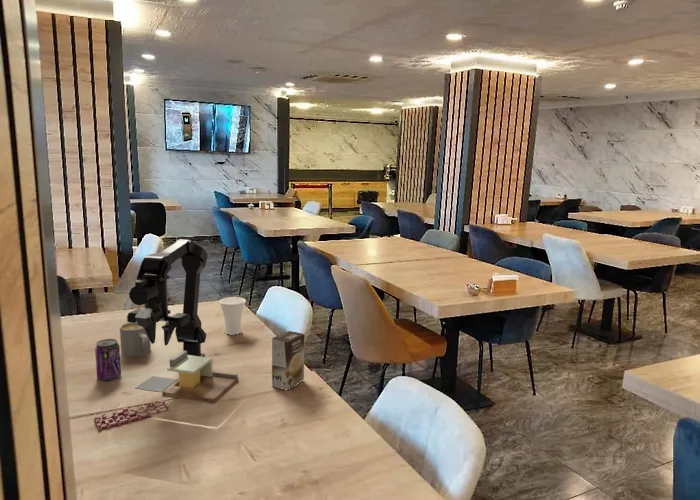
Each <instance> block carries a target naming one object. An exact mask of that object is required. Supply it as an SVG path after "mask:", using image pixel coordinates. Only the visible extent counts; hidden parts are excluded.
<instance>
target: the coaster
mask: <svg viewBox="0 0 700 500" xmlns="http://www.w3.org/2000/svg"><path fill="white" fill-rule="evenodd" d="M177 380H178V378H177V379H176V378H169V377H162V376H161V377H160V376H156V375H151V377H149V378H148V379H146V380H145V381H143V382H141V383H140V384H139V385H137V386H136V387H134V389H137V390H144V391H150V392H157V393H162V392H163V391H164V390H165V389H167V388H168V387H169V386H171V385H172V384H173V383H175V382H176V381H177Z"/></svg>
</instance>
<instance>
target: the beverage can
mask: <svg viewBox="0 0 700 500" xmlns="http://www.w3.org/2000/svg"><path fill="white" fill-rule="evenodd" d="M95 344H96V345H95V349H94V352H95V353H94V355H95V367H96V378H97V379H98V380H102V381H111V380H115V379H117V378H119V377H120V376H121V375H122V367H121V364H122V363H121V347H120V344H119V343H118V340H117V339H116V338H103V339H101V340H98V341H96V342H95Z"/></svg>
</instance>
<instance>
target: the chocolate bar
mask: <svg viewBox="0 0 700 500" xmlns="http://www.w3.org/2000/svg"><path fill="white" fill-rule="evenodd" d="M158 407H159V408H158ZM169 407H170V406H169V405H168V403H167V402H166V400H164V399H160V401H158V403H156V401H152V402H151V403H150V402H147V405H145V404H143V403H142V404H141V405H140V406H139V407H137V408H138V409H137V408H136V407H135V406H132V407H131V408H130V409H129V408H128V407H127V406H126V407H123V408H122V410H120V411H117V412H116V411H113V412H111V414H110V413H108V414H107V415H106V413H105V412H104V413H101V416H98V415H95V416H94V417H93V419H94V422H95V424H97V425H96V427H97V429H98V431H99V432H102V431H105V430H109V429H113V428H117V427H121V426H124V425H128V424H131V423H135V422H139V421H142V420H146V419H150V418H153V416H152V415H155V414H161V413H162V412H170V411H171V410H170V409H171V408H169ZM129 410H130V411H133V412H129ZM152 410H155V411H152ZM144 412H145V414H141V413H144Z"/></svg>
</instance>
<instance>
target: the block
mask: <svg viewBox="0 0 700 500" xmlns="http://www.w3.org/2000/svg"><path fill="white" fill-rule="evenodd" d="M178 380H179V385H180V387H185V388H192V389H194V388H195V387H196V386H198V385H199V384H200V370H199V371H197V372H196V373H195V374H188V373H181V372H178Z"/></svg>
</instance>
